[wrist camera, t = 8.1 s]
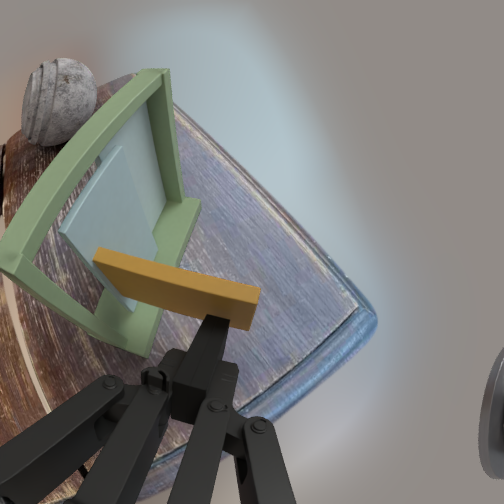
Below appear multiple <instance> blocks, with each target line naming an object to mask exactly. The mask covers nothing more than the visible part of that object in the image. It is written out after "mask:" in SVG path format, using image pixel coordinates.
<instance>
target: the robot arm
mask: <svg viewBox="0 0 504 504" xmlns="http://www.w3.org/2000/svg"><path fill="white" fill-rule="evenodd" d="M229 324H230V319H226V318H222V317H218V316H214V315H210V314H206V316H205V318H204V320H203V322H202V324H201V326H200V328H199V330H198V332H197V334H196V336H195V338H194V340H193V342H192V344H191V346H190V347H189V349H188V351H187V352H185V351H182V350H179V349H175V348H173V349H171V350H169V351H168V352H166V354H165V356H164V357H163V359H162V361H161V362H160V364H159V365H158V367H148V368H145V369H144V370H143V371H141V383H142V385H126V384H124V383H123V381H122V380H121V379H120V378H119V377H117V376H115V375H104V376H101V377H100V378H98V379H97V380H95V381H94V382H93V383H91V384H90V385H88V386H87V387H86V388H84V389H83V390H81V391H80V392H79V393H77V394H76V395H74V396H73V397H71V398H70V399H69V400H67V401H66V402H64V403H63V404H62V405H60V406H59V407H57V408H56V409H54V410H53V411H52V412H50V413H49V414H47V415H46V416H44V417H43V418H42V419H40V420H39V421H37V422H36V423H34V424H33V425H32V426H30V427H29V428H27V429H26V430H24V431H23V432H21V433H20V434H19V435H17V436H16V437H14V438H13V439H11V440H10V441H8V442H7V443H5V444H4V445H3V446H1V447H0V504H38V503H39V502H40V501H41V500H42V499H44V498H45V497H46V496H47V495H48V494H49V493H51V492H52V491H53V490H54V489H55V488H57V487H58V486H59V485H60V484H61V483H62V482H63V481H65V480H66V479H67V478H68V477H69V476H70V475H71V474H73V473H74V472H75V471H76V470H77V469H78V468H79V467H81V466H82V465H83V464H84V463H85V462H86V461H87V460H88V459H89V458H91V457H92V456H93V455H94V454H95V453H96V452H97V451H98V450H99V449H100V448H102V447H103V446H104V447H103V449H102V450H101V452H100V454H99V455H98V457H97V459H96V460H95V462H94V464H93V466H92V467H91V469H90V471H89V472H88V474H87V476H86V478H85V479H84V481H83V483H82V484H81V486H80V488H79V490H78V491H77V493H76V495H75V496H74V497H73V498H72V499H68V500H66V501H65V502H64V503H63V504H135V502H136V500H137V498H138V495H139V493H140V490H141V488H142V486H143V483H144V481H145V479H146V476H147V474H148V471H149V469H150V467H151V464H152V462H153V460H154V457H155V455H156V453H157V450H158V448H159V446H160V443H161V441H162V439H163V436H164V434H165V431H166V429H167V427H168V419H169V417H170V414H171V418H172V419H175V420H178V421H181V422H185V423H188V424H192V425H194V427H193V430H192V432H191V435H190V438H189V441H188V444H187V447H186V450H185V453H184V456H183V459H182V461H181V464H180V467H179V470H178V473H177V476H176V479H175V482H174V485H173V488H172V490H171V493H170V496H169V499H168V502H167V504H210V501H211V497H212V493H213V488H214V484H215V480H216V475H217V471H218V467H219V462H220V458H221V453H222V450H223V451H225V452H227V453H229V454H231V455H233V456H234V462H235V469H236V476H237V483H238V488H239V495H240V501H241V504H296V501H295V498H294V494H293V491H292V487H291V484H290V481H289V477H288V474H287V471H286V467H285V464H284V460H283V457H282V453H281V450H280V446H279V443H278V439H277V435H276V432H275V429H274V426H273V424H272V423H271V422H270V421H269V420H268V419H265V418H263V417H258V416H256V417H251V418H249V419H247V418H245V417H243V416H241V415H240V414H238V413H237V412H236V411H235V410H234V408H233V405H232V402H233V397H234V392H235V387H236V383H237V378H238V373H239V369H238V367H237V364H235V363H230V362H226V361H222V357H223V354H224V349H225V344H226V339H227V334H228V329H229Z"/></svg>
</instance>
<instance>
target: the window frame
mask: <svg viewBox="0 0 504 504" xmlns="http://www.w3.org/2000/svg"><path fill="white" fill-rule="evenodd" d="M115 145H119V146H122V147H123V150H124V153H125V157H126V160H127V163H128V166H129V169H130V172H131V175H132V179H133V182H134V185H135V188H136V190H137V193H138V196H139V199H140V202H141V205H142V208H143V210H144V213H145V216H146V219H147V221H148V224H149V227H150V229H151V232H152V234H153V237H154V240H155V242H156V245H157V247H158V251H157V254H156V256H155V258H154V262H157V263H161V264H165V265H169V266H173V267H177V268H179V265H180V262H181V260H182V257H183V254H184V252H185V249H186V246H187V244H188V241H189V239H190V236H191V233H192V231H193V228H194V226H195V223H196V221H197V218H198V216H199V213H200V211H201V208H202V207H201V200H200V199H195V198H190V197H185V192H184V186H183V179H182V172H181V166H180V158H179V151H178V143H177V136H176V127H175V119H174V110H173V100H172V90H171V79H170V69H142V70H140V71H139V72H138V73H137V74H136V76H135V77H134V78H133V79H132V80H130V81H129V82H128V83H127V84H126V85H125V86H123V87H122V88H121V89H120V90H119V91H118V92H117V93H116V94H114V95H113V96H112V97H111V98H110V99H109V100H108V101H107V102H106V103H105V104H104V105H103V106H102V107H101V108H100V109H99V110H98V111H97V112H96V113H95V114H94V115H93V116H92V117H91V118H90V119H89V120H88V121H87V122H86V123H85V124H84V125H83V126H82V127H81V128H80V129H79V130H78V131H77V133H76V134H75V135H74V136H73V137H72V138H71V139H70V140H69V142H68V143H67V144H66V145H65V146H64V147H63V149H62V150H61V151H60V152H59V153H58V155H57V156H56V157H55V158H54V160H53V161H52V162H51V163H50V165H49V166H48V167H47V169H46V170H45V171H44V173H43V174H42V175H41V177H40V178H39V179H38V181H37V182H36V184H35V185H34V187H33V188H32V189H31V191H30V192H29V194H28V195H27V197H26V198H25V200H24V201H23V203H22V205H21V206H20V208H19V209H18V211H17V213H16V214H15V216H14V217H13V219H12V221H11V223H10V224H9V226H8V228H7V230H6V231H5V233H4V235H3V237H2V239H1V241H0V272H2V273H3V274H4V275H5V276H7V277H8V278H9V279H10V280H12V281H13V282H14V283H15V284H17V285H18V286H19V287H21V288H22V289H23V290H25V291H26V292H27V293H29V294H30V295H31V296H33V297H34V298H35V299H37V300H38V301H40V302H41V303H43V304H44V305H45V306H47V307H48V308H50V309H51V310H53V311H54V312H56V313H57V314H59V315H60V316H62V317H64V318H65V319H67V320H68V321H70V322H72V323H73V324H75V325H76V326H78V327H80V328H81V329H83V330H85V331H87V334H88V335H90V336H92V337H93V338H96V339H98V340H100V341H103V342H105V343H107V344H110V345H112V346H115V347H117V348H120V349H123V350H125V351H128V352H130V353H133V354H136V355H139V356H141V357H144V358H147V359H148V358H149V354H150V351H151V348H152V345H153V341H154V338H155V335H156V332H157V329H158V326H159V323H160V319H161V316H162V313H163V310H164V309H162V308H159V307H155V306H152V305H149V304H146V303H142V302H139V301H138V302H137V305H136V308H135V310H134V313H132V312H129V311H128V310H127V309H126V308H125V307H124V306H123V305H122V304H121V303H120V302H119V301H118V300H117V299H116V298H115V297H114V296H113V295H112V294H111V293H110V292H109V291H108V290H107V289H106V288H105V287H104V290H103V292H102V295H101V297H100V300H99V302H98V305H97V308H96V310H95V313H94V315H93V314H92V313H91V312H89V311H88V310H87V309H85V308H84V307H83V306H82V305H80V304H79V303H78V302H76V301H75V300H74V299H73V298H71V297H70V296H69V295H68V294H67V293H65V292H64V291H63V290H62V289H61V288H59V287H58V286H57V285H56V284H55V283H54V282H52V281H51V280H50V279H49V278H48V277H47V276H46V275H45V274H43V273H42V272H41V271H40V270H39V269H38V268H37V267H36V266H35V265H34V264H33V263H32V261H33V259H34V257H35V255H36V253H37V251H38V249H39V247H40V246H41V244H42V242H43V240H44V238H45V236H46V234H47V233H48V231H49V229H50V227H51V225H52V224H53V222H54V220H55V219H56V217H57V215H58V214H59V212H60V210H61V209H62V207H63V205H64V204H65V202H66V201H67V199H68V198H69V196H70V195H71V193H72V192H73V190H74V189H75V187H76V186H77V184H78V183H79V181H80V180H81V178H82V177H83V176H84V174H85V173H86V171H87V170H88V169H89V167H90V166H91V165H92V163H93V162H94V161H95V163H96V165H97V168H98V167H99V166H100V164H101V163H102V162H103V160H104V159H105V158H106V156H107V155H108V154H109V152H110V151H111V150H112V148H113V147H114V146H115Z"/></svg>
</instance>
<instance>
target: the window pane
mask: <svg viewBox="0 0 504 504" xmlns="http://www.w3.org/2000/svg"><path fill="white" fill-rule="evenodd" d="M58 233H59V234H60V235H61V237H62V238H63V239H64V240H65V242H66V243H67V244H68V245H69V247H70V248H71V249H72V250H73V251H74V253H75V254H76V255H77V256H78V257H79V259H80V260H81V261H82V262H83V263H84V264H85V266H86V267H87V268H88V269H89V270H90V271H91V272H92V273H93V275H94V276H95V277H96V278H97V279H98V280H99V281H100V282H101V283H102V284H103V286H104V287H105V288H106V289H107V290H108V291H109V292H110V293H111V294H112V295H113V296H114V297H115V298H116V299H117V300H118V301H119V302H120V303H121V304H122V305H123V306H124V307H125V308H126V309H127V310H128V311H129V312H132V313H134V310H135V308H136V305H137V302H138V301H139V302H142V303H146V304H149V305H152V306H155V307H159V308H162V309H165V310H169V311H172V312H176V313H179V314H183V315H186V316H190V317H194V318H197V319H201V320H204V318H205V316H206V314H210V315H214V316H218V317H222V318H226V319H230V324H229V327H233V328H237V329H241V330H246V331H249V329H250V326H251V323H252V320H253V317H254V313H255V310H256V307H257V304H258V299H259V295H260V290H261V288H259V287H255V286H251V285H246V284H242V283H238V282H233V281H229V280H225V279H221V278H217V277H213V276H208V275H204V274H200V273H196V272H192V271H188V270H184V269H180V268H177V267H173V266H169V265H165V264H161V263H157V262H154V258H155V256H156V254H157V251H158V247H157V245H156V242H155V240H154V237H153V234H152V232H151V229H150V227H149V224H148V221H147V219H146V216H145V213H144V210H143V208H142V205H141V202H140V199H139V196H138V193H137V190H136V188H135V185H134V182H133V179H132V175H131V172H130V169H129V166H128V163H127V160H126V157H125V153H124V150H123V147H122V146H119V145H115V146H114V147H113V148H112V150H111V151H110V152H109V154H108V155H107V156H106V158H105V159H104V160H103V162H102V163H101V164H100V166H99V167H98V168H97V170H96V171H95V173H94V174H93V175H92V177H91V178H90V180H89V181H88V183H87V184H86V186H85V187H84V189H83V190H82V192H81V193H80V195H79V196H78V198H77V199H76V201H75V203H74V204H73V206H72V207H71V209H70V211H69V212H68V214H67V216H66V217H65V219H64V221H63V222H62V224H61V226H60V228H59V229H58Z"/></svg>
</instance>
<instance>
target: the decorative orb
mask: <svg viewBox="0 0 504 504" xmlns="http://www.w3.org/2000/svg"><path fill="white" fill-rule="evenodd" d="M96 99H97V87H96V82H95V79H94V77H93V75H92V73H91V72H90V70H89V69H88V68H87V67H86V66H85V65H83V64H82V63H81V62H79V61H76V60H73V59H68V58H59V59H55V60H54V61H53V63H50V62H49V60H48V61H46V62H43V63H42V64H41V65H40V67H39V68H37V70H36V71H35V72H33V73H31V75H30V78H29V81H28V84H27V88H26V91H25V95H24V99H23V106H22V125H21V127H22V134H24V135H25V136H26V138H28V141H29V143H31V144H33V145H35V144H36V142H39V143H40V145H41V146H53V145H58V144H61V143H64V142H66V141H68V140H69V139H71V138H72V137H73V136H74V135H75V134H76V133H77V131H78V130H79V129H80V128H81V127H82V126H83V125H84V124H85V123H86V122H87V121H88V120H89V119H90V117H91V115H92V113H93V111H94V108H95V104H96Z"/></svg>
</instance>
